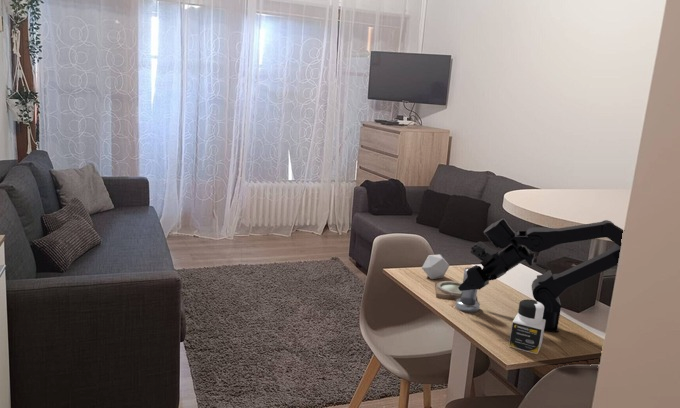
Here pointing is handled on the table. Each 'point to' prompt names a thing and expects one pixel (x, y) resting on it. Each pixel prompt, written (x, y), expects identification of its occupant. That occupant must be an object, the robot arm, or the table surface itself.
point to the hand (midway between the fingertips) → (465, 285)
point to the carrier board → (448, 289)
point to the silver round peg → (467, 299)
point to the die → (435, 266)
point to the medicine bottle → (528, 327)
